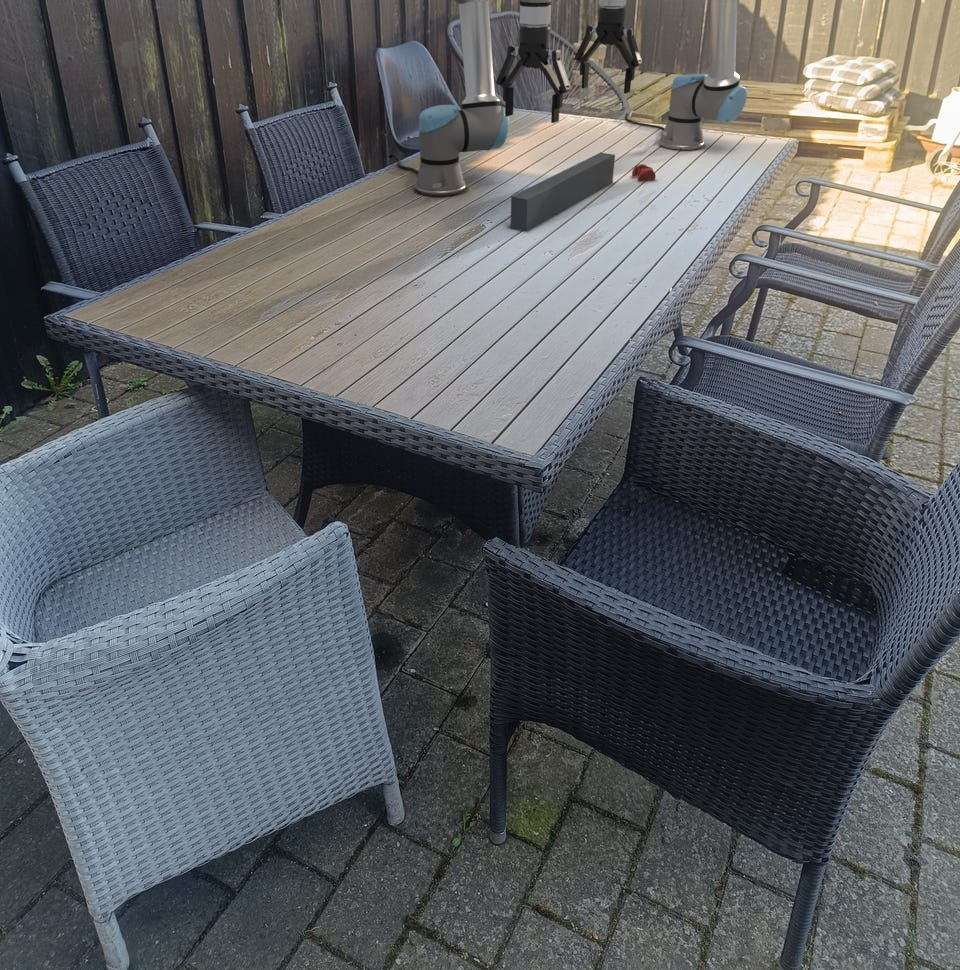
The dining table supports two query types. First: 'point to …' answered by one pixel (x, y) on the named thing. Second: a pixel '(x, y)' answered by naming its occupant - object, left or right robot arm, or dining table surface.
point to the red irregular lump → (643, 172)
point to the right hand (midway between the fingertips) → (605, 90)
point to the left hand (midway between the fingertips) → (531, 118)
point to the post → (561, 191)
